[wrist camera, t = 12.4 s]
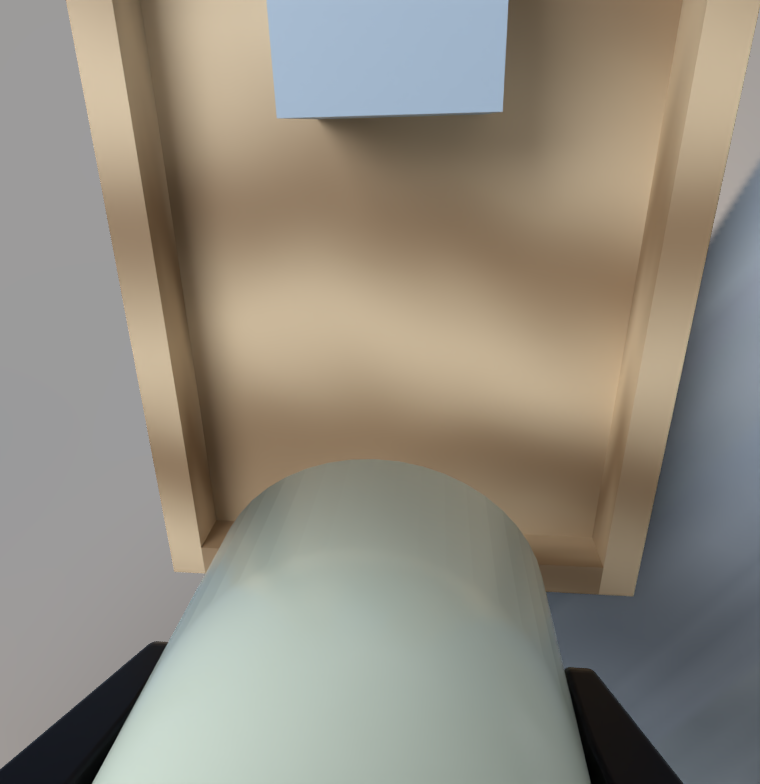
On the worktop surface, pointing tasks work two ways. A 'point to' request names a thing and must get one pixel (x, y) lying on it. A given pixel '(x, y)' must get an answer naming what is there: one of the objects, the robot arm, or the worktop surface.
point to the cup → (360, 646)
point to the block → (387, 57)
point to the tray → (417, 264)
